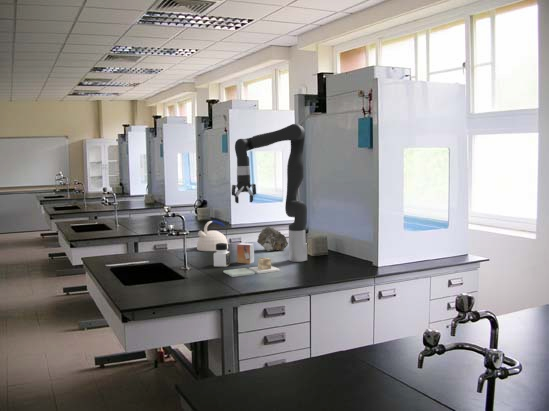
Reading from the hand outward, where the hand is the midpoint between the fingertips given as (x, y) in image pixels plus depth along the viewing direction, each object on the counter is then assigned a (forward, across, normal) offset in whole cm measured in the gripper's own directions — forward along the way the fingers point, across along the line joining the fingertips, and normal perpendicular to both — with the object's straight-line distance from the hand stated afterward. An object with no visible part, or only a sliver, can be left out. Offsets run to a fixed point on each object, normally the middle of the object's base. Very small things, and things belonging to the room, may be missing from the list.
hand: (244, 202), depth 317 cm
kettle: (+32, +5, -42) cm, 54 cm away
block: (+31, +5, +36) cm, 48 cm away
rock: (+32, -26, -16) cm, 45 cm away
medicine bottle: (+32, +19, +12) cm, 39 cm away
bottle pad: (+32, +19, +36) cm, 52 cm away
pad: (+32, +5, +36) cm, 48 cm away
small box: (+32, +5, +12) cm, 35 cm away
